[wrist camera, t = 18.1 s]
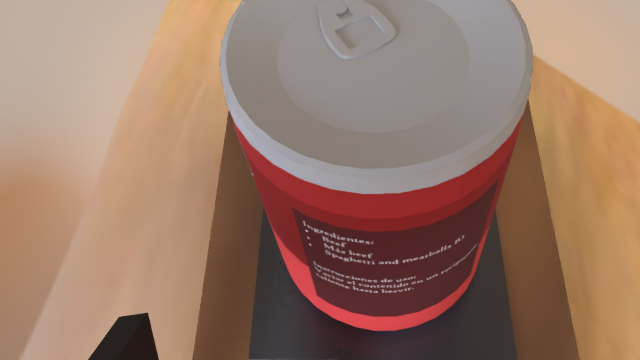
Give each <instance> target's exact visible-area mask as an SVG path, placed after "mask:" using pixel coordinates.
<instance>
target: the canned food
mask: <svg viewBox="0 0 640 360" xmlns="http://www.w3.org/2000/svg"><path fill="white" fill-rule="evenodd" d="M220 70H221V77H222V84H223V88H224V93H225V100H226V104H227V107H228V109H229V112H230V115H231V117H232V120H233V124H234V128H235V131H236V133H237V136H238V139H239V141H240V144H241V147H242V150H243V152H244V155H245V158H246V160H247V163H248V166H249V168H250V171H251V174H252V176H253V179H254V182H255V184H256V187H257V190H258V192H259V195H260V198H261V200H262V203H263V206H264V208H265V211H266V214H267V216H268V219H269V222H270V224H271V227H272V230H273V232H274V235H275V238H276V240H277V243H278V246H279V248H280V251H281V254H282V256H283V259H284V261H285V264H286V266H287V269H288V271H289V273H290V276H291V278H292V279H293V281H294V282H295V284H296V285H297V287H298V288H299V289H300V291H301V292H302V294H303V295H304V296H305V297H307V298H308V299H309V300H310V301H311V302H312V303H313V304H314V305H315V306H316V307H317V308H319V309H320V310H322V311H323V312H325V313H326V314H328V315H329V316H331V317H332V318H334V319H337V320H339V321H342V322H344V323H347V324H349V325H352V326H354V327H358V328H363V329H368V330H373V331H396V330H401V329H406V328H410V327H415V326H418V325H420V324H422V323H425V322H427V321H429V320H431V319H434V318H436V317H437V316H439V315H440V314H441V313H443V312H444V311H446V310H447V309H448V308H450V307H451V306H452V305H453V304H454V303H455V302H456V301H457V300H458V299H459V298H460V296H461V295H462V294H463V293H464V292H465V291H466V289H467V287H468V285H469V283H470V282H471V280H472V278H473V276H474V274H475V271H476V268H477V265H478V261H479V258H480V255H481V252H482V249H483V246H484V242H485V239H486V236H487V233H488V230H489V226H490V223H491V220H492V217H493V214H494V211H495V207H496V204H497V201H498V198H499V195H500V191H501V188H502V185H503V182H504V179H505V176H506V172H507V169H508V166H509V163H510V160H511V157H512V153H513V150H514V147H515V144H516V141H517V137H518V133H519V130H520V126H521V122H522V119H523V114H524V111H525V107H526V104H527V100H528V96H529V92H530V89H531V76H532V72H533V50H532V44H531V41H530V37H529V33H528V30H527V27H526V24H525V22H524V20H523V19H522V17H521V15H520V13H519V12H518V10H517V8H516V6H515V5H514V3H513V2H512V1H511V0H243V1H242V2H241V3H240V5H239V6H238V8H237V10H236V11H235V13H234V14H233V16H232V17H231V19H230V21H229V23H228V26H227V29H226V31H225V34H224V37H223V40H222V44H221V54H220Z"/></svg>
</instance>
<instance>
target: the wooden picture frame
mask: <svg viewBox="0 0 640 360" xmlns="http://www.w3.org/2000/svg"><path fill="white" fill-rule="evenodd" d="M193 360H580V359H579V354H578V349H577V344H576V339H575V334H574V329H573V324H572V319H571V314H570V309H569V303H568V298H567V293H566V288H565V283H564V278H563V273H562V268H561V263H560V258H559V253H558V248H557V243H556V238H555V233H554V228H553V223H552V218H551V212H550V207H549V202H548V197H547V192H546V187H545V182H544V177H543V172H542V167H541V162H540V157H539V152H538V147H537V142H536V137H535V132H534V127H533V121H532V116H531V111H530V106H529V101H528V100H527V104H526V107H525V111H524V114H523V119H522V122H521V126H520V130H519V133H518V137H517V141H516V144H515V147H514V150H513V153H512V157H511V160H510V163H509V166H508V169H507V172H506V176H505V179H504V182H503V185H502V188H501V191H500V195H499V198H498V201H497V204H496V207H495V211H494V214H493V217H492V220H491V223H490V226H489V230H488V233H487V236H486V239H485V242H484V246H483V249H482V252H481V255H480V258H479V261H478V265H477V268H476V271H475V274H474V276H473V278H472V280H471V282H470V283H469V285H468V287H467V289H466V291H465V292H464V293H463V294H462V295H461V296H460V298H459V299H458V300H457V301H456V302H455V303H454V304H453V305H452V306H451V307H450V308H448V309H447V310H446V311H444V312H443V313H441V314H440V315H439V316H437V317H436V318H434V319H431V320H429V321H427V322H425V323H422V324H420V325H418V326H415V327H410V328H406V329H401V330H396V331H373V330H368V329H363V328H358V327H354V326H352V325H349V324H347V323H344V322H342V321H339V320H337V319H334V318H332V317H331V316H329V315H328V314H326V313H325V312H323V311H322V310H320V309H319V308H317V307H316V306H315V305H314V304H313V303H312V302H311V301H310V300H309V299H308V298H307V297H305V296H304V295H303V294H302V292H301V291H300V289H299V288H298V287H297V285H296V284H295V282H294V281H293V279H292V278H291V276H290V273H289V271H288V269H287V266H286V264H285V261H284V259H283V256H282V254H281V251H280V248H279V246H278V243H277V240H276V238H275V235H274V232H273V230H272V227H271V224H270V222H269V219H268V216H267V214H266V211H265V208H264V206H263V203H262V200H261V198H260V195H259V192H258V190H257V187H256V184H255V182H254V179H253V176H252V174H251V171H250V168H249V166H248V163H247V160H246V158H245V155H244V152H243V150H242V147H241V144H240V141H239V139H238V136H237V133H236V131H235V128H234V124H233V120H232V117H231V115H230V112H229V111H228V118H227V125H226V132H225V139H224V146H223V153H222V160H221V167H220V173H219V180H218V187H217V194H216V201H215V208H214V215H213V222H212V229H211V235H210V242H209V249H208V256H207V263H206V270H205V277H204V284H203V291H202V298H201V304H200V311H199V318H198V325H197V332H196V339H195V346H194V353H193Z"/></svg>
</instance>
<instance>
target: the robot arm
mask: <svg viewBox="0 0 640 360" xmlns="http://www.w3.org/2000/svg"><path fill="white" fill-rule="evenodd" d="M88 360H159V359H158V354H157V350H156V346H155V341H154V337H153V333H152V329H151V324H150V320H149V316H148V313H143V314H136V315H129V316H122V317H119V318H118V319H117V321H116V322H115V323H114V325H113V326H112V327H111V329H110V330H109V332H108V333H107V334H106V336H105V337H104V338H103V340H102V341H101V343H100V344H99V345H98V347H97V348H96V349H95V351H94V352H93V354H92V355H91V356H90V358H89V359H88Z"/></svg>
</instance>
